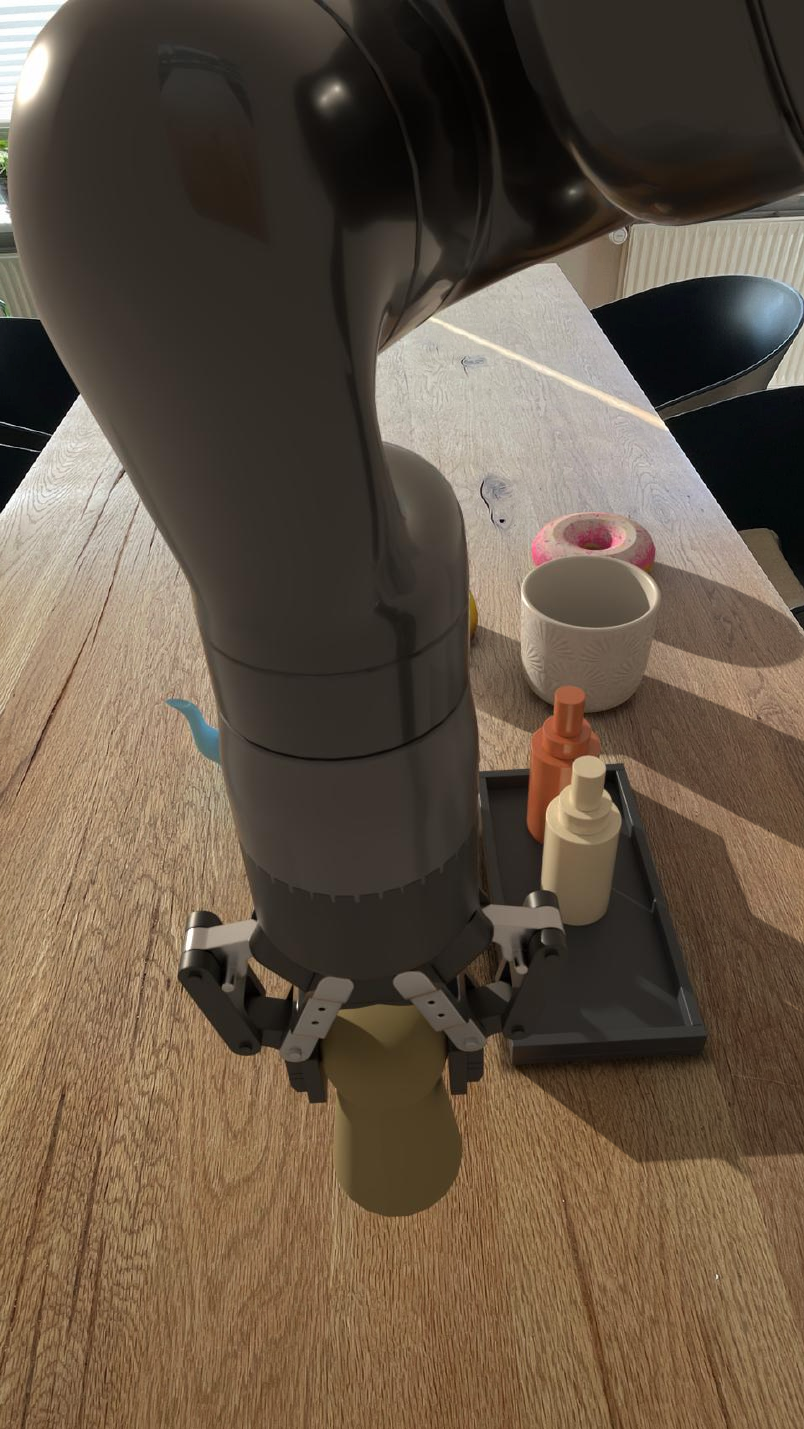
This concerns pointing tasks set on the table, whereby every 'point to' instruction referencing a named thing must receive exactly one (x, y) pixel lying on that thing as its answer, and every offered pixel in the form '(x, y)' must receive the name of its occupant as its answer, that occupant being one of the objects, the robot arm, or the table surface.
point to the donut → (595, 539)
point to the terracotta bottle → (557, 755)
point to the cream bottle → (581, 844)
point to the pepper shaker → (391, 1109)
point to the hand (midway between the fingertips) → (388, 1077)
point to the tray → (596, 940)
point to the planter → (587, 628)
